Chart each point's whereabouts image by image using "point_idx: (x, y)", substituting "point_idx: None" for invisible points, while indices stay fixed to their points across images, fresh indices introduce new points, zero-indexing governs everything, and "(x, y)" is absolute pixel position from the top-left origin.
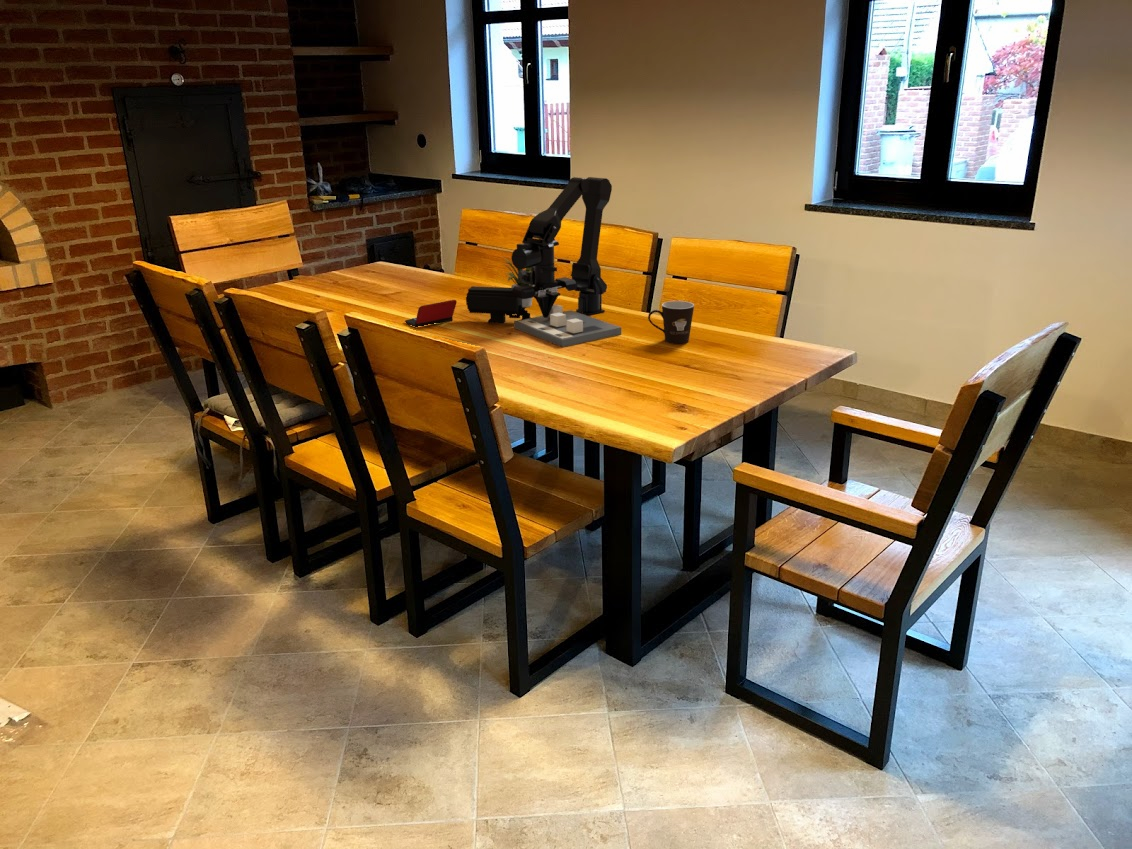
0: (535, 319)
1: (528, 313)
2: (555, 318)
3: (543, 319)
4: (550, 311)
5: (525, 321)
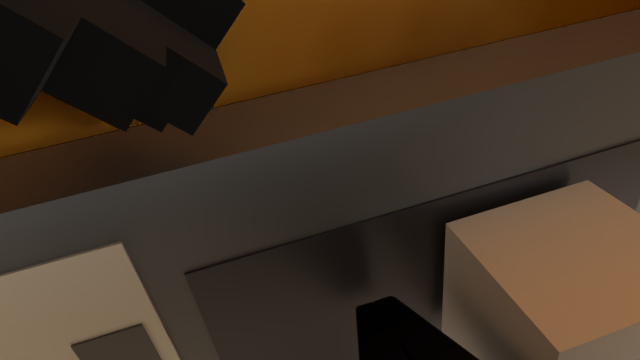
0: (230, 283)
1: (172, 109)
2: None
3: (334, 304)
4: (494, 351)
5: (29, 347)
